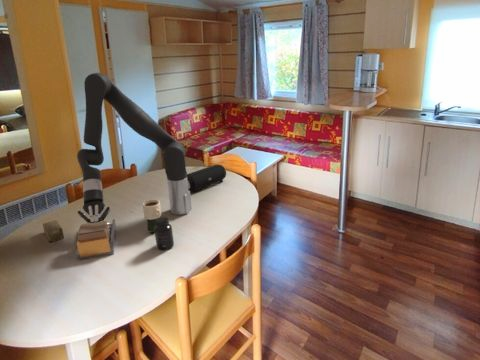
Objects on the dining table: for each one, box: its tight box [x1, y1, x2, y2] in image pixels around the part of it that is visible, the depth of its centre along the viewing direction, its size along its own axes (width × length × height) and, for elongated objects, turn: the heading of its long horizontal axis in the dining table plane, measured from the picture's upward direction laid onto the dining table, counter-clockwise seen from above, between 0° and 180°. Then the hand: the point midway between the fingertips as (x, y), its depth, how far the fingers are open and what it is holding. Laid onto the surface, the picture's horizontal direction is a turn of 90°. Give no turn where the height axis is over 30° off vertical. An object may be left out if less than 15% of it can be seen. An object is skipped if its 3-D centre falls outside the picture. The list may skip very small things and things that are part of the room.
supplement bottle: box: [153, 216, 175, 251], centre depth 135 cm, size 7×7×12 cm
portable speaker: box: [187, 163, 227, 193], centre depth 191 cm, size 26×10×10 cm, turn 135°
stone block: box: [42, 219, 65, 242], centre depth 146 cm, size 6×12×5 cm, turn 39°
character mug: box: [142, 198, 162, 233], centre depth 147 cm, size 11×7×13 cm, turn 47°
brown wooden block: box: [77, 220, 110, 242], centre depth 134 cm, size 8×10×7 cm
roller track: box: [75, 219, 117, 261], centre depth 141 cm, size 24×13×7 cm, turn 16°
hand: (95, 231), depth 139 cm, fingers closed
